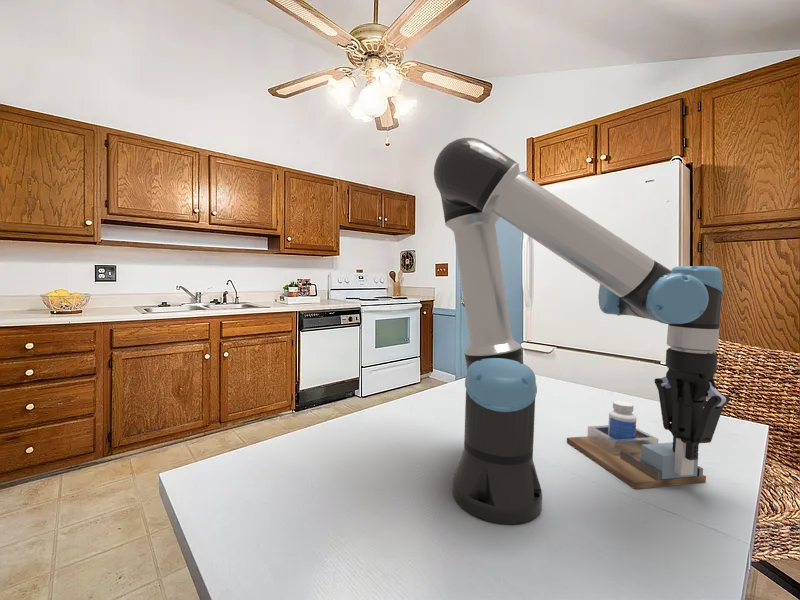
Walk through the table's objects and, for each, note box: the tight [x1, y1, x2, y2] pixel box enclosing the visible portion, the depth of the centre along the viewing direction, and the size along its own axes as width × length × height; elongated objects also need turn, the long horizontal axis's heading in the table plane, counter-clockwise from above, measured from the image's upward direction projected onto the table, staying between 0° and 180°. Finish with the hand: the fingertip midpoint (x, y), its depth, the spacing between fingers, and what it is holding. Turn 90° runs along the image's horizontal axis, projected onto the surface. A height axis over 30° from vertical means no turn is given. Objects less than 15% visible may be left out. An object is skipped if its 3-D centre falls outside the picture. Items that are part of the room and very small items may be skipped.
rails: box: [620, 450, 704, 481], centre depth 75 cm, size 10×9×2 cm
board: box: [566, 436, 707, 490], centre depth 80 cm, size 16×20×1 cm
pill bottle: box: [607, 400, 637, 440], centre depth 84 cm, size 6×5×10 cm
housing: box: [641, 441, 699, 479], centre depth 73 cm, size 8×5×4 cm, turn 101°
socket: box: [586, 424, 659, 455], centre depth 85 cm, size 11×8×3 cm
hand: (683, 473), depth 70 cm, fingers closed
